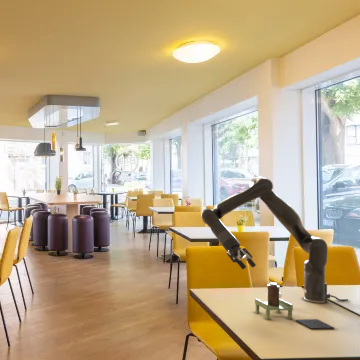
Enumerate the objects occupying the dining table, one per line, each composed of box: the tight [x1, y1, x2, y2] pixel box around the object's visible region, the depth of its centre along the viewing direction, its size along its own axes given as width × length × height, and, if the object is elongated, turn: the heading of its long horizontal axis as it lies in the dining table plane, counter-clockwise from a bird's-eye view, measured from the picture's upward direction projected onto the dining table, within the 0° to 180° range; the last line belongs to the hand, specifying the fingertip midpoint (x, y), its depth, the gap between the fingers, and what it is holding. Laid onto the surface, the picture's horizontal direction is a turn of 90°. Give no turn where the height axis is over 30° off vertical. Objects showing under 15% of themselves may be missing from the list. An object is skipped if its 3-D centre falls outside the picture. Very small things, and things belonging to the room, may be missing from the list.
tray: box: [254, 298, 294, 320], centre depth 180 cm, size 12×10×7 cm
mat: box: [295, 318, 335, 330], centre depth 169 cm, size 10×10×1 cm
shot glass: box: [265, 290, 283, 302], centre depth 195 cm, size 7×7×7 cm
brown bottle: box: [267, 282, 280, 307], centre depth 180 cm, size 5×5×10 cm
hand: (249, 267), depth 190 cm, fingers open, 8 cm apart
